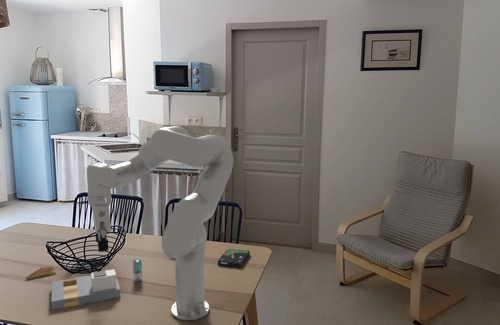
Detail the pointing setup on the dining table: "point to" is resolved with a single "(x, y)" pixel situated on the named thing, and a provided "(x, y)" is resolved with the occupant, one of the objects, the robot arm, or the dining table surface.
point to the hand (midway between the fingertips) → (102, 246)
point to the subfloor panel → (79, 292)
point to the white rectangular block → (103, 280)
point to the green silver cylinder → (137, 270)
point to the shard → (42, 272)
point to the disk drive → (234, 258)
